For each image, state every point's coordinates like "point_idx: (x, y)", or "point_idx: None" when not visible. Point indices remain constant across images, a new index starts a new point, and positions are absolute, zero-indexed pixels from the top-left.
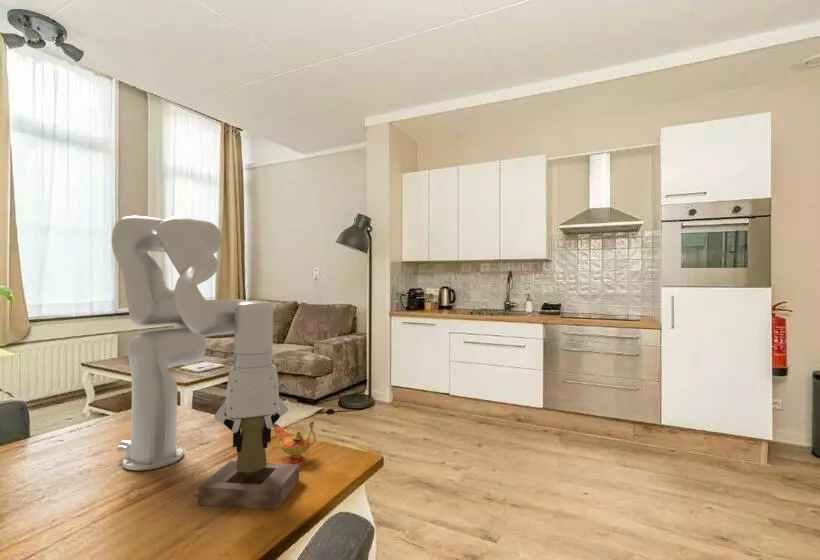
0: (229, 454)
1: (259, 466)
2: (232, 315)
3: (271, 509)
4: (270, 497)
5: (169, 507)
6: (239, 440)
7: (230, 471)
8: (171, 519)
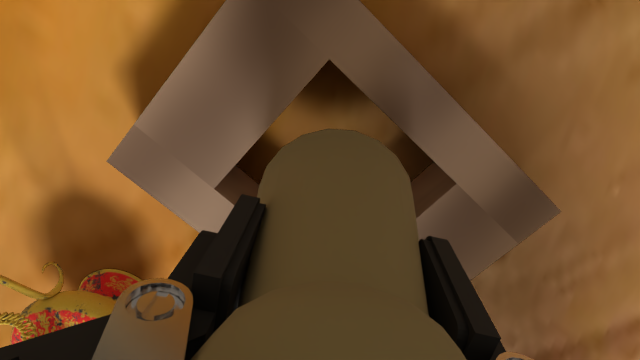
0: None
1: (313, 139)
2: None
3: None
4: None
5: (601, 221)
6: (455, 281)
7: None
8: (632, 133)
